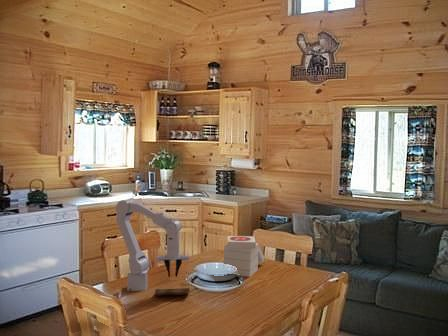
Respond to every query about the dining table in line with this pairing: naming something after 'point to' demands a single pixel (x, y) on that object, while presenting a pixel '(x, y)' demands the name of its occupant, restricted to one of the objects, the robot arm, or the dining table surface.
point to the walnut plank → (171, 291)
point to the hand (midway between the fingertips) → (172, 276)
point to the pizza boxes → (243, 254)
